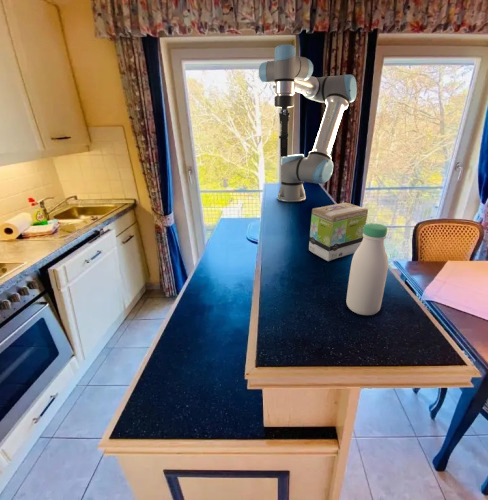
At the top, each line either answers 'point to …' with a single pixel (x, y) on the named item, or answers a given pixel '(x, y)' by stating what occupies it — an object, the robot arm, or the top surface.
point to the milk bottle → (368, 272)
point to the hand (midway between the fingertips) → (283, 154)
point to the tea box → (336, 230)
